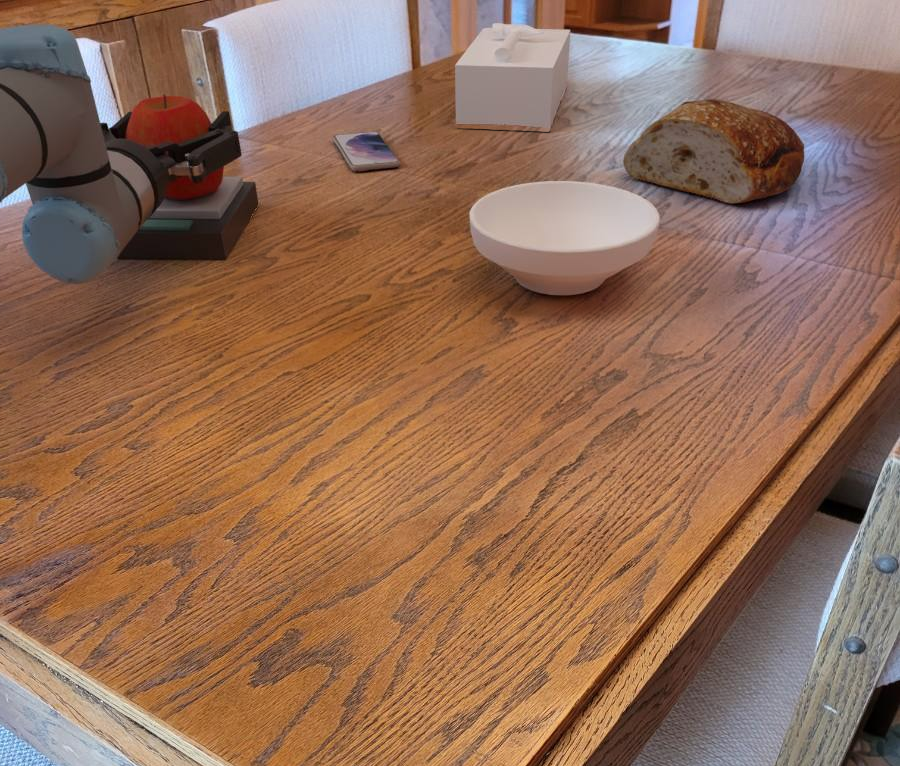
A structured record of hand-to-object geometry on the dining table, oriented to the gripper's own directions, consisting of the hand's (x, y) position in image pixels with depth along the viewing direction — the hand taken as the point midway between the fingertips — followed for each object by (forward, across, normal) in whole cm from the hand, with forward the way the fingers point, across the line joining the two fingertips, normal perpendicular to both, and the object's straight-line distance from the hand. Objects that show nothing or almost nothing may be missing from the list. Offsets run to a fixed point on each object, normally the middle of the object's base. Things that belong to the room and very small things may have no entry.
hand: (181, 123), depth 107 cm
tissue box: (+47, +39, -11) cm, 62 cm away
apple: (-4, 0, -7) cm, 8 cm away
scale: (-6, 0, -10) cm, 12 cm away
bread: (+13, +67, -11) cm, 69 cm away
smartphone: (+23, +18, -11) cm, 31 cm away
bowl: (-19, +45, -11) cm, 50 cm away
